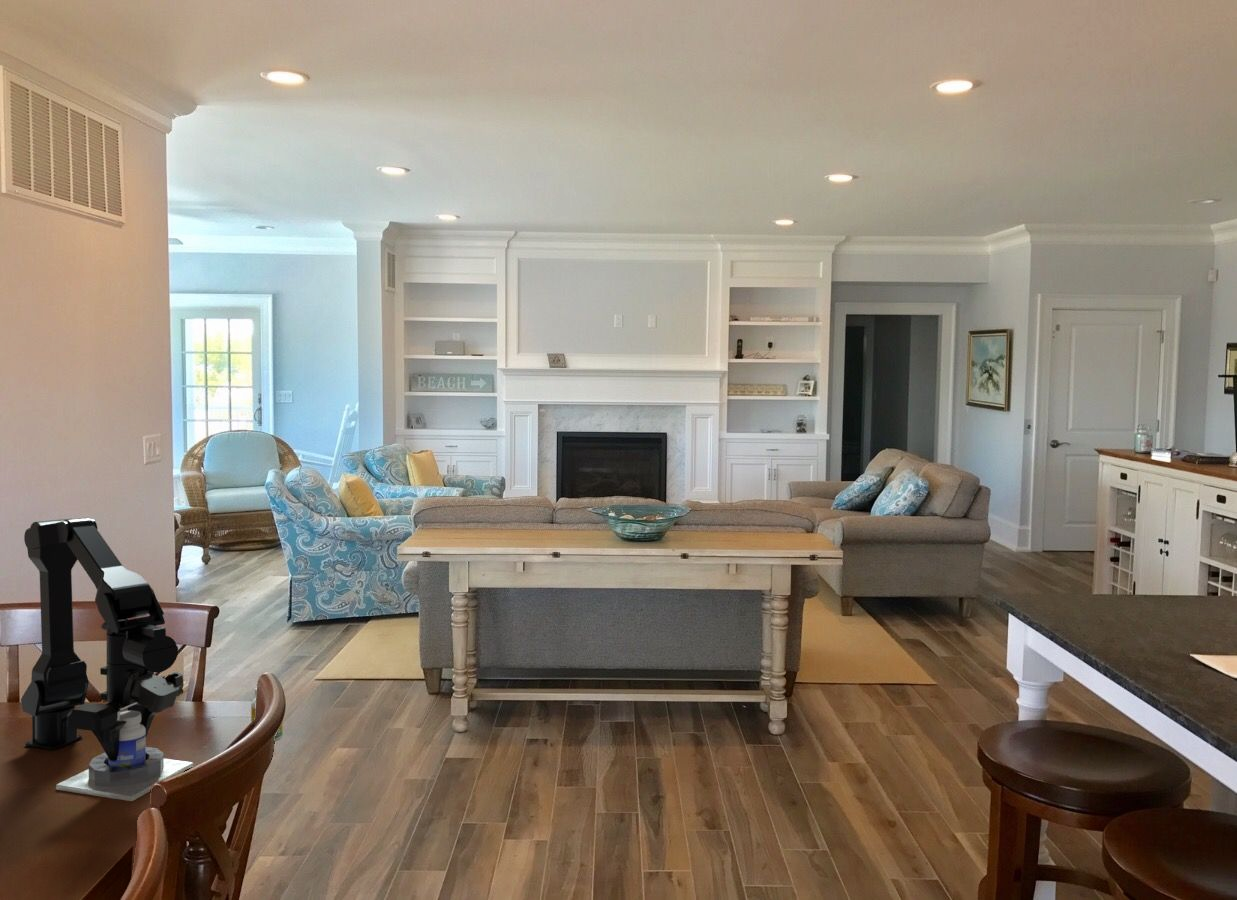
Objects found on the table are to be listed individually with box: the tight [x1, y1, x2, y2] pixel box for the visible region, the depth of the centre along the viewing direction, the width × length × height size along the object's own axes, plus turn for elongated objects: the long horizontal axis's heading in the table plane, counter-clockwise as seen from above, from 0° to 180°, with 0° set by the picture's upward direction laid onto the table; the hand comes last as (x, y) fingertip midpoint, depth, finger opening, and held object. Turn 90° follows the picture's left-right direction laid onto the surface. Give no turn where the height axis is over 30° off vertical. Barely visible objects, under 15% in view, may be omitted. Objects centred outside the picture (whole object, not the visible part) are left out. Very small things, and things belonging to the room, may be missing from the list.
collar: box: [55, 746, 194, 802], centre depth 156 cm, size 14×14×3 cm
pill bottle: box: [108, 710, 147, 767], centre depth 156 cm, size 5×5×10 cm
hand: (126, 754), depth 156 cm, fingers closed on pill bottle, 5 cm apart
